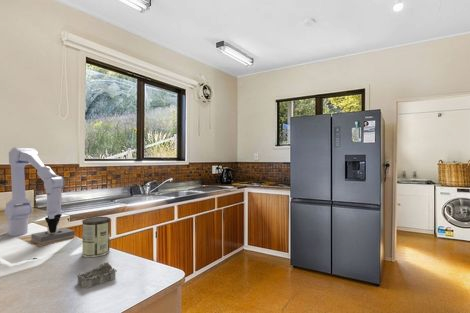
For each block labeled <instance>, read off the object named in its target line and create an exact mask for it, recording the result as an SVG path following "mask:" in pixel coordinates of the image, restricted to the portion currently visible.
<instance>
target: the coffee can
mask: <svg viewBox="0 0 470 313" xmlns="http://www.w3.org/2000/svg"><path fill="white" fill-rule="evenodd" d="M110 222H111V218H110V217H109V216H94V217H93V216H91V217H87V218H84V219H82V250H81V251H82V252H81V253H82V254H81V255H82V256H83V257H85V258H97V257H102V256H105V255H108V254H109V253H110V244H111V243H110V238H111V237H110V236H111V235H110V230H111V227H110V226H111V223H110Z"/></svg>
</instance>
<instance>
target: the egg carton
mask: <svg viewBox="0 0 470 313" xmlns="http://www.w3.org/2000/svg"><path fill="white" fill-rule="evenodd" d="M116 274H117V269H115V268H114V267H112V264H110V263H109V261H107V262H104V263H102V264H98V267H95V268H93V269H91V270H87V271H85V272H83V273H81V274H80V273H79V274H76V278H77V285H81V288H82V289H89V288H92V286H93V285H101V284H104V282H105V281H113V280H114V279H115V278H116Z"/></svg>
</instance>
